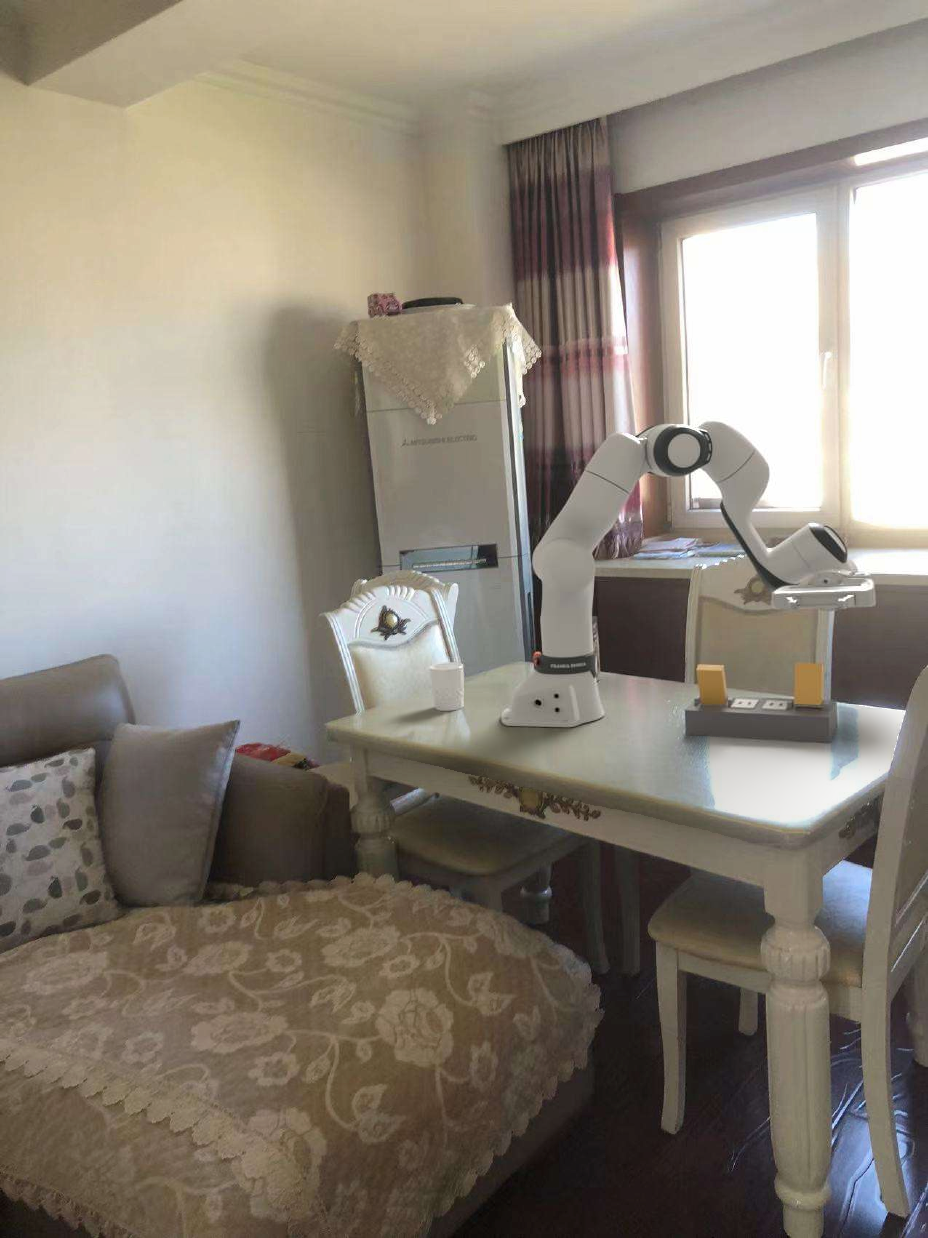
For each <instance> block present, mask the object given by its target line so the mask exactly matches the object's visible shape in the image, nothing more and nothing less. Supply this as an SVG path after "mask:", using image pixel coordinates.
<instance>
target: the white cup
mask: <svg viewBox="0 0 928 1238" xmlns="http://www.w3.org/2000/svg"><path fill="white" fill-rule="evenodd" d="M429 673H430V683H431V690H432V696H433V697H432V698H433V700H434V708H435V710H437V711H441V712H453V711H458V710H461V709H463V708H464V707H465V702H464V701H465V698H464V696H465V686H464V685H465V681H464V680H465V676H464V664H463V663H461V662H458V661H457V662H456V661H455V662H454V661H450V662H449V661H447V662H440V663H435V664H432V665H430V666H429Z"/></svg>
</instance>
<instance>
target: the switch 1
mask: <svg viewBox="0 0 928 1238" xmlns="http://www.w3.org/2000/svg"><path fill="white" fill-rule="evenodd" d="M695 671H696V677H697V684H698V691H699V693H698V694H699V695H700V700H701V703H708V704H726V703H727V700H728V696H729V695H728V689H727V681H726V673H725V671H726V670H725V666H724V664H697V667H696V670H695Z"/></svg>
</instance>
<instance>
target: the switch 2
mask: <svg viewBox="0 0 928 1238" xmlns="http://www.w3.org/2000/svg"><path fill="white" fill-rule="evenodd" d="M794 666H795V667H794V689H793V691H794V692H793V693H794V694H793V695H794V696H793V699H794V704H795V705H808V706H823V700H824V677H825V676H824V674H825V673H824V672H825V671H824V670H825V669H824V664H823V663H812V662H811V663H810V662H795V663H794Z"/></svg>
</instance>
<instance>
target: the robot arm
mask: <svg viewBox="0 0 928 1238" xmlns="http://www.w3.org/2000/svg"><path fill="white" fill-rule="evenodd" d="M769 466H770V465H769V464H768V462H767V460H766V458H764V455H762V453H761V452H760V451H759V450H758V448H756V447H755V445H754V444H753V443H752V442H751V441H750V440H749V439H748V438H747V437H746V436H745V435H744V434H743V433H741V432H740V430H738V429H737V428H735V427H734V426H733V425H731V424H730V423H728V422H727V421H726V420H724V419H721V418H712V419H709V420H706V421H704V422H702V423H701V424H700V425H699V426H698V427H697V428H696V427H693V426H690V425H689V424H688V425H687V424H678V423H677V424H675V423H671V422H670V423H663V424H657V425H652V426H649V427H647V428H646V429H644V430H643V431H641V432H640V433H638V434H636V435H632V434H629V433H625V432H614V433H612V434H610V435H609V436H608V437H606V438H605V440H604V441H603V442H602V443H601V445H599V447H598V448H597V450H596V451H595V453H594V454H593V456H592V457H591V458H590V460H589V462H588V463H587V465H586V467H585V469H584V471H583V472H582V474H581V475H580V478H579V479H578V481H577V483H576V485H575V487H574V488H573V491H572V493H571V494H570V496H569V498H568V499H567V500H566V502H565V505H564V506H563V507H562V509H561V511H560V512H559V513H558V515H557V516H556V518H555V519H554V520H553V521H552V522H551V525H549V527H548V529H547V531H545V534H544V535H543V536H542V538H541V540H540V541H539V542H538V544H537V545H536V547H535V549H534V550H533V553H532V569H533V571H534V573H535V575H536V576H537V577H538V579H540V580H541V585H542V589H541V591H542V594H541V595H542V596H541V597H542V598H541V611H540V612H541V613H540V634H541V635H540V637H541V651H542V652H540V651H536V652H534V654H533V656H532V660H533V669H534V671H533V672H532V673H530V674H529V675H528V676H527V677H525V679H523V680H522V681H521V682H519V684H517V686H516V687H515V688H514V689H513V692H512V694H511V699H510V706H509V707H507V708H506V709H504V710H503V711H502V713H501V717H500V718H501V723H502V724H503V725H505V726H509V727H546V728H547V727H549V728H574V727H576V726H579V725H582V724H585V723H589V722H592V721H596V720H599V719H601V718H603V717H604V716H605V714H606V712H605V710H604V707H603V704H602V702H601V697H600V693H599V688H598V682H597V681H596V676H597V657H596V652H595V651H594V650H593V631H592V616H593V603H594V602H593V601H594V588H595V575H596V569H597V567H596V566H597V565H596V562H595V558H594V555H593V554H592V553H593V552H594V551H595V549H596V547H597V546H598V545H599V544H600V542H601V541H602V540H603V539H604V537H606V535H607V534H608V533H609V532H610V531H611V530H612V529H613V527H614V526H615V524H616V522H617V520H618V518H619V516H620V514H621V513H622V511H623V509H624V508H625V505H627V502H628V501H629V498H630V496H631V494H632V493H633V491H634V489H635V487H636V485H637V482H639V480H640V479H641V478H642V477H643V476H644V475H646V474H651V475H658V476H660V477H665V478H669V477H670V478H674V477H675V478H677V477H678V478H680V477H685V476H688V475H690V474H692V473H694V472H695V471H697V470H698V469H700V470H702V471H703V472H705V473H706V474H707V476H708V477H709V478H710V480H712V482H714V483H715V485H716V486H717V488H718V489H719V491H720V494H721V498H722V499H721V501H720V503H719V509H720V512H721V515H722V517H723V518H724V522H725V523H726V524H727V526H728V528H729V529H730V531H731V533H732V534H733V536H734V537H735V539H736V541H737V542H738V543H739V546H740V547H741V549H742V550H743V551H744V553H745V555H746V556H747V558H748V560H749V561H750V563H751V564H752V566H753V568H754V570H755V572H756V574H757V576H758V578H759V579H760V582H761V584H763V586H764V587H765V588H766V589H767V591H768V590H769V591H770V592H771V606H772V608H773V609H775V610H789V611H797V610H798V609H799V610H800V609H804V610H805V609H817V610H819V611H821V612H822V611H823V612H835V611H838V610H846V609H847V608H870V607H874V606H876V604H877V602H876V601H877V600H876V598H877V597H876V586H875V582H874V580H873V577H872V574H871V573H870V572H859V569H858V567H857V565H856V564H855V562H854V561H853V560H852V559H851V558H849V557H848V549H847V546H846V544H845V543H844V541H843V539H842V538H841V537H840V535H839V534H838V533H837V532H836V531H835V530H834V529H833V528H832V527H830V526H828V525H825V524H822V523H819V522H809V523H808V524H806V525H804V526H803V527H801V528H800V529H798V530H797V531H796V532H794V533H793V534H792V535H790V536H789V537H788V538H786V539H784V540H783V541H782V542H780V543H779V544H777V545H775V547H767V546H766V545H765V543H764V541H763V540H762V537H761V536H760V535H759V533H758V531H757V530H756V528H755V527H754V526H753V523H752V522H751V520H750V517H751V515H752V512H753V510H754V509H755V507H756V506H757V504H758V502H759V501H760V499H762V496H763V495H764V493H765V492H766V489H767V487H768V484H769V482H770V481H769V480H770V474H771V473H770V467H769ZM809 577H810V579H808V578H809ZM806 579H808V582H807V583H806V584H801V582H803V581H805V580H806Z"/></svg>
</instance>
